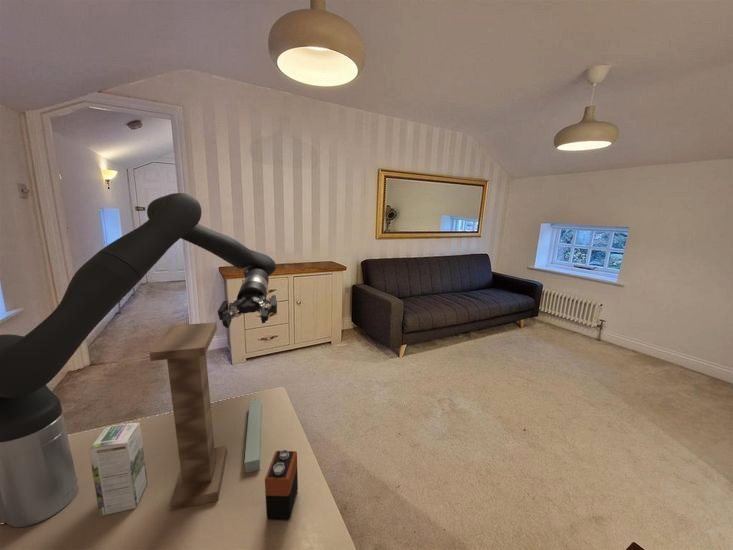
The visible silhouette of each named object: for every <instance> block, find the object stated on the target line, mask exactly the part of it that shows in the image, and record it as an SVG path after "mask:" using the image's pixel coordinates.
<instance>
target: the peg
mask: <svg viewBox="0 0 733 550" xmlns="http://www.w3.org/2000/svg"><path fill="white" fill-rule="evenodd" d="M262 404H263V403H262V398H257V399H251V400H249V406H248V407H249V408H248V417H247V418H248V419H247V428H246V429H247V430H246V431H247V432H246V438H245V439H246V442H245V453H244V473H245V474H247V473H251V472H256V471H260V470H261V447H262V446H261V445H262V413H263V412H262V411H263V410H262V408H263V407H262V406H263V405H262Z"/></svg>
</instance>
